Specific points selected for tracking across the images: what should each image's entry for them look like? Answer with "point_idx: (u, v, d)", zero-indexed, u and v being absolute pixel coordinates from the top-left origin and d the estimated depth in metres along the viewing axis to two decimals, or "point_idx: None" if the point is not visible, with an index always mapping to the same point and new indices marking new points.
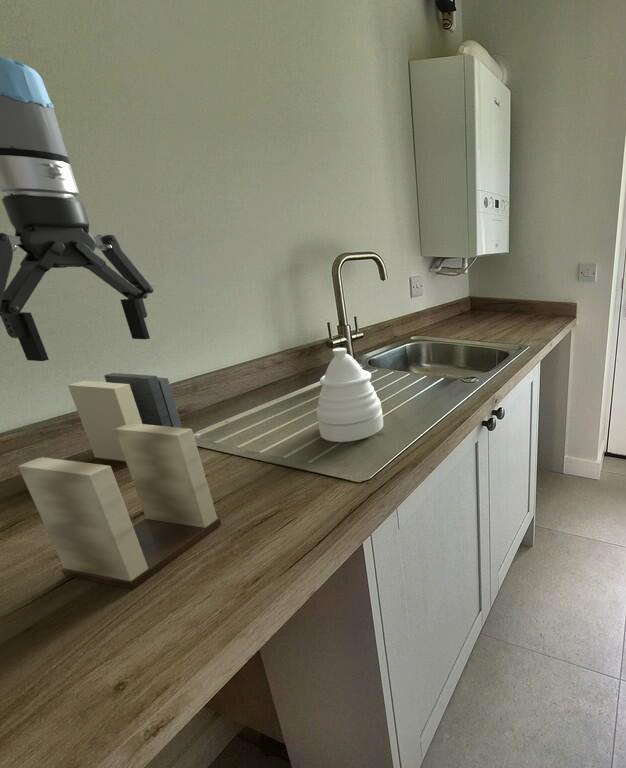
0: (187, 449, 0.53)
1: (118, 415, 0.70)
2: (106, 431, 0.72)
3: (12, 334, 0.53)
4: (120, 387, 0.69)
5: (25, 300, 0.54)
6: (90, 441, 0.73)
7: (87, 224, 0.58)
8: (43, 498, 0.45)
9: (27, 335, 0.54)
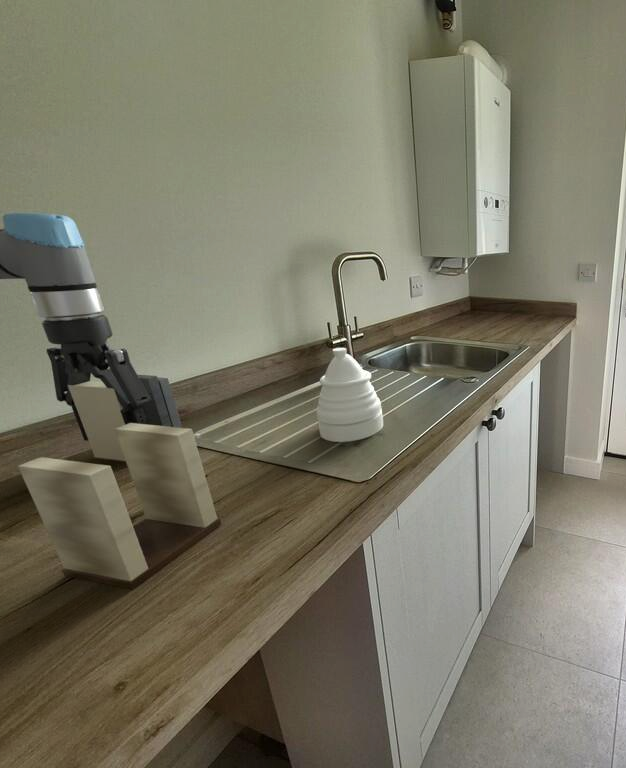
0: (187, 449, 0.53)
1: (118, 415, 0.70)
2: (106, 431, 0.72)
3: (143, 423, 0.71)
4: None
5: None
6: (90, 441, 0.73)
7: None
8: (43, 498, 0.45)
9: None
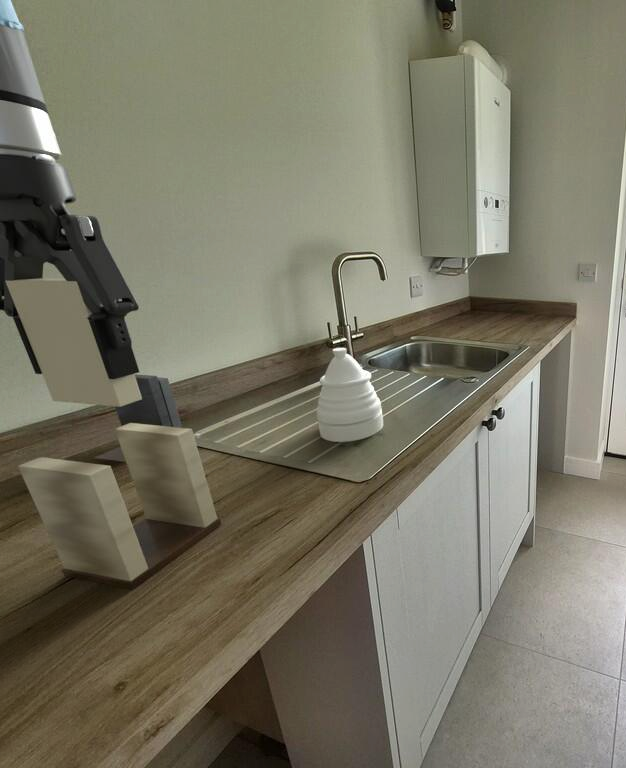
0: (187, 449, 0.53)
1: (85, 327, 0.44)
2: (68, 357, 0.46)
3: (125, 342, 0.45)
4: None
5: None
6: (45, 375, 0.47)
7: None
8: (43, 498, 0.45)
9: None
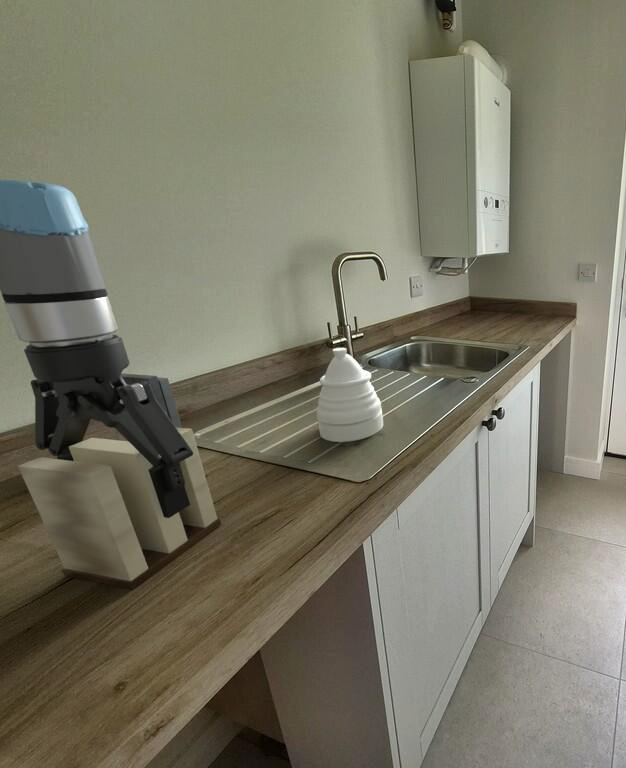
0: None
1: (141, 490, 0.48)
2: None
3: (180, 484, 0.49)
4: None
5: None
6: None
7: None
8: (43, 498, 0.45)
9: None
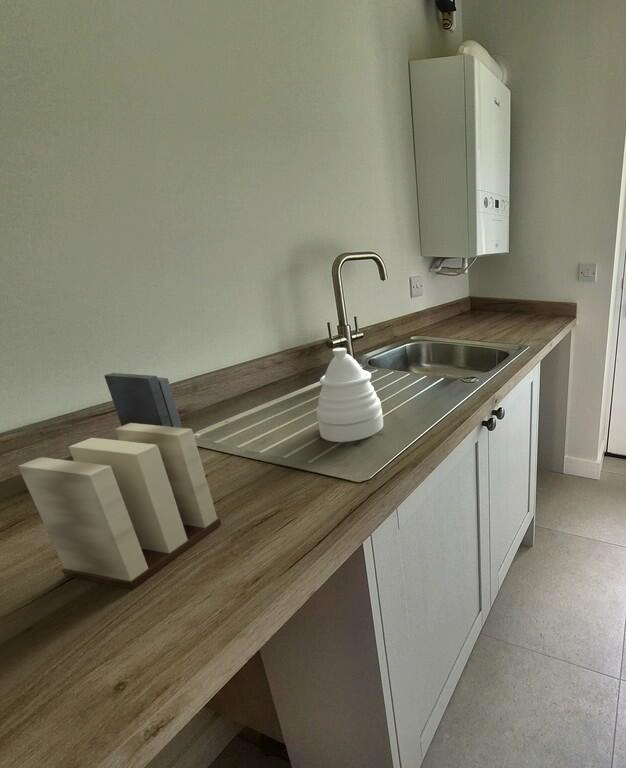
0: (187, 449, 0.53)
1: (141, 490, 0.48)
2: None
3: None
4: (145, 451, 0.48)
5: None
6: None
7: None
8: (43, 498, 0.45)
9: None
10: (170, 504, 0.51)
